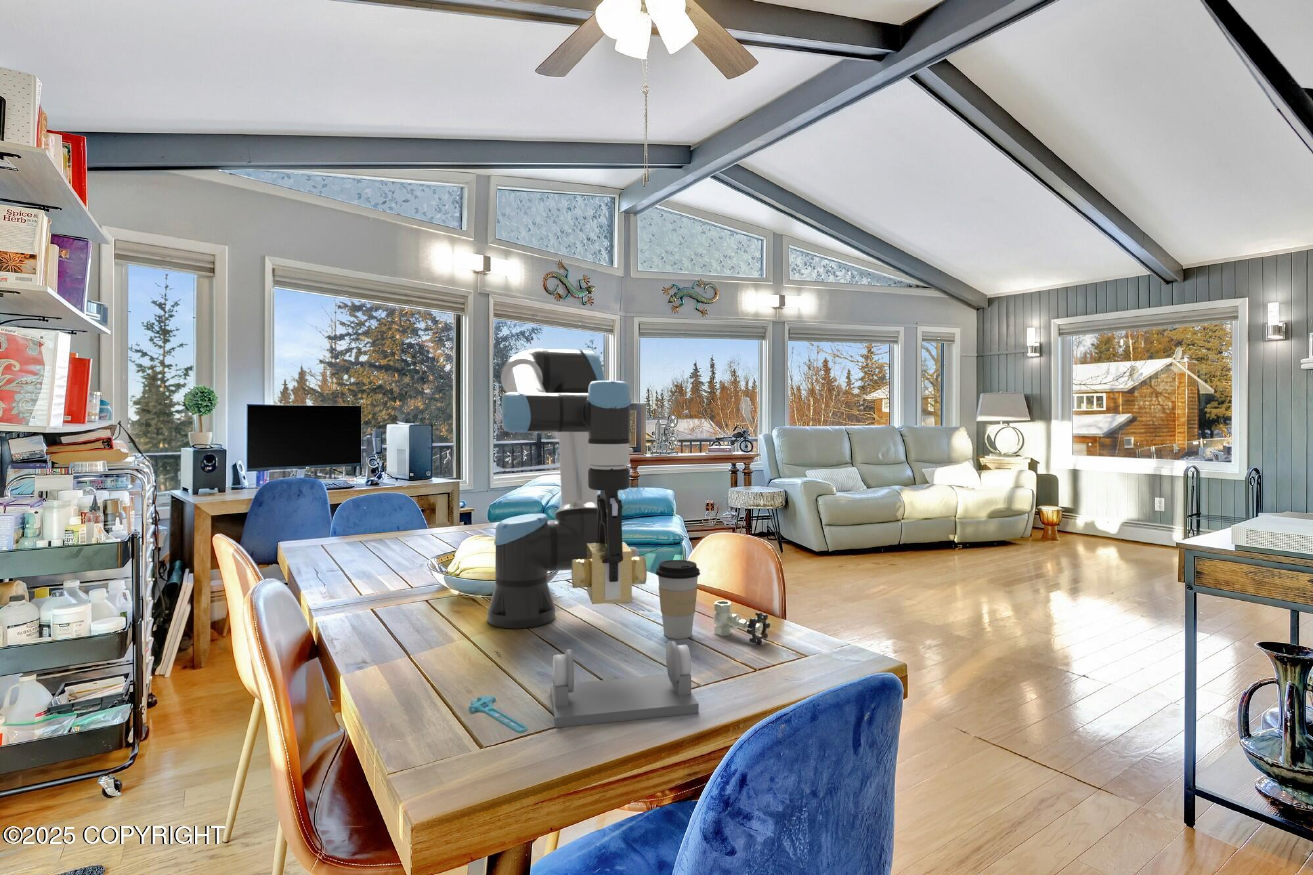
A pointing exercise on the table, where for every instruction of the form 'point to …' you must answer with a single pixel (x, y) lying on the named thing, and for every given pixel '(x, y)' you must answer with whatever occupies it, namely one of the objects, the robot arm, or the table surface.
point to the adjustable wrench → (495, 712)
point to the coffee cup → (677, 596)
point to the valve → (738, 622)
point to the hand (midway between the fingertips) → (608, 591)
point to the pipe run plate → (622, 693)
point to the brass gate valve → (594, 573)
